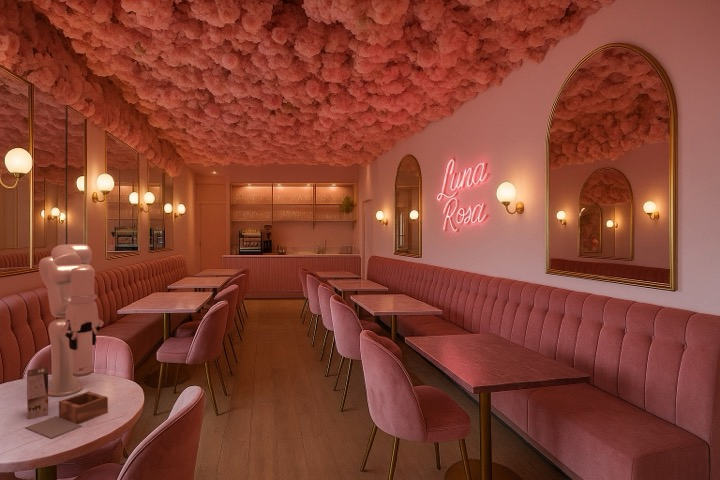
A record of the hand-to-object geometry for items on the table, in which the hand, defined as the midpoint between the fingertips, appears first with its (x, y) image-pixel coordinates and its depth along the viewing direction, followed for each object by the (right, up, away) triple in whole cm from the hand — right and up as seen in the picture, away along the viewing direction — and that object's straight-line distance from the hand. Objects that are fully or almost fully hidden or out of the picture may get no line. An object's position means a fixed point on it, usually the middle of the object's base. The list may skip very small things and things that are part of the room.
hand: (82, 346), depth 161 cm
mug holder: (0, -26, +1) cm, 26 cm away
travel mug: (0, -11, +1) cm, 11 cm away
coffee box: (-18, -26, +2) cm, 32 cm away
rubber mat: (-4, -27, -10) cm, 29 cm away
